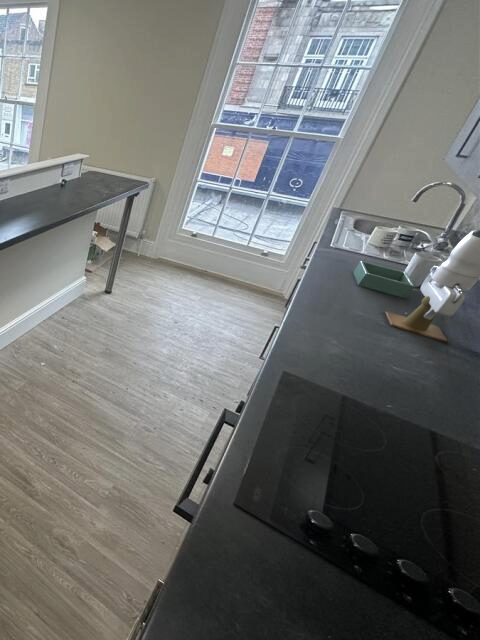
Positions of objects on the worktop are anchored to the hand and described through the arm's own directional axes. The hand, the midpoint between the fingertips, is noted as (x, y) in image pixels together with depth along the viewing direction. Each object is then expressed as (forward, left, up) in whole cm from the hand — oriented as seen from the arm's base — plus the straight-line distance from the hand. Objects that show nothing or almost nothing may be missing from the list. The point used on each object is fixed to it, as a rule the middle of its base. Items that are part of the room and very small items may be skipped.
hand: (424, 314), depth 134 cm
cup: (-7, -46, -5) cm, 47 cm away
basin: (+5, -33, -5) cm, 34 cm away
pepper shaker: (0, 0, -5) cm, 5 cm away
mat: (0, 0, -5) cm, 5 cm away
